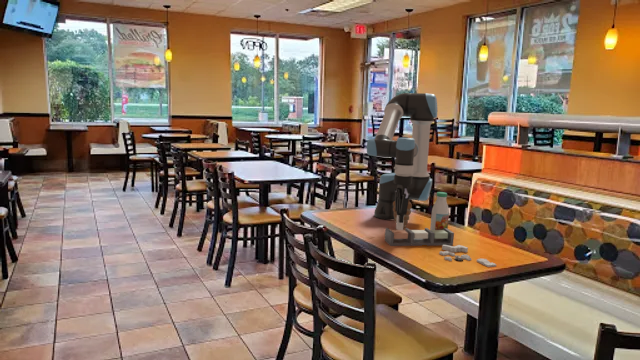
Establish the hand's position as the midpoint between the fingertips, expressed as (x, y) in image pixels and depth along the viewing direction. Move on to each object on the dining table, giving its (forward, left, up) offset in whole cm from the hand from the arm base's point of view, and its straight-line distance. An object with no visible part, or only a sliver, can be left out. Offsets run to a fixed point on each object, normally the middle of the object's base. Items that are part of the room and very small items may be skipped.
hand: (399, 229), depth 200 cm
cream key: (0, +9, -3) cm, 10 cm away
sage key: (0, +18, -3) cm, 18 cm away
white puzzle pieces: (+20, +17, -7) cm, 27 cm away
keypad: (0, +9, -6) cm, 11 cm away
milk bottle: (-12, +23, -6) cm, 27 cm away
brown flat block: (0, 0, -3) cm, 3 cm away
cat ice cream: (-21, +8, -6) cm, 23 cm away
